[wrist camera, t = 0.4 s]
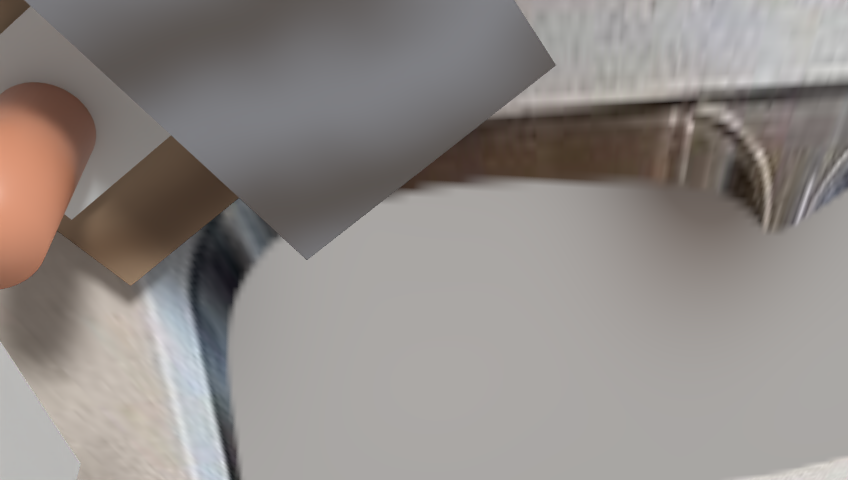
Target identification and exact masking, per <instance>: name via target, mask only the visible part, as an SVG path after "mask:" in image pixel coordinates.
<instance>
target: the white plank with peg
mask: <svg viewBox="0 0 848 480" xmlns="http://www.w3.org/2000/svg"><path fill="white" fill-rule="evenodd" d="M170 136H171V135H170V134H169V133H168V132H167V131H166V130H165V129H164V128H163V127H162V126H161V125H159V124H158V123H157V122H156V121H155V120H154V119H153V118H152V117H151V116H150V115H149V114H148V113H146V112H145V111H144V110H143V109H142V108H141V107H140V106H139V105H138V104H137V103H136V102H134V101H133V100H132V99H131V98H130V97H129V96H128V95H127V94H126V93H125V92H124V91H122V90H121V89H120V88H119V87H118V86H117V85H116V84H115V83H114V82H113V81H112V80H111V79H109V78H108V77H107V76H106V75H105V74H104V73H103V72H102V71H101V70H100V69H99V68H97V67H96V66H95V65H94V64H93V63H92V62H91V61H90V60H89V59H88V58H87V57H86V56H84V55H83V54H82V53H81V52H80V51H79V50H78V49H77V48H76V47H75V46H74V45H72V44H71V43H70V42H69V41H68V40H67V39H66V38H65V37H64V36H63V35H62V34H61V33H59V32H58V31H57V30H56V29H55V28H54V27H53V26H52V25H51V24H50V23H49V22H47V21H46V20H45V19H44V18H43V17H42V16H41V15H40V14H39V13H38V12H37V11H35V10H34V9H33V8H32V7H31V6H30V7H29V8H28V9H27V10H26V11H25V12H24V13H23V14H22V15H21V16H19V17H18V18H17V19H16V20H15V21H14V22H13V23H12V24H11V25H10V26H9V27H8V28H7V29H5V30H4V31H3V32H2V33H1V34H0V289H5V288H8V287H12V286H14V285H17V284H19V283H21V282H23V281H25V280H26V279H28V278H29V277H30V276H32V275H33V274H34V273H35V272H36V271H37V270H38V268H39V267H40V266H41V264H42V262H43V260H44V258H45V256H46V254H47V251H48V249H49V247H50V245H51V243H52V240H53V238H54V236H55V234H56V231H57V229H58V227H59V225H60V222H61V220H62V218H63V216H64V214H65V215H66V216H67V217H69V218H70V219H71V220H72V219H73V218H74V217H76V216H77V215H78V214H79V213H80V212H81V211H83V210H84V209H85V208H86V207H87V206H88V205H90V204H91V203H92V202H93V201H94V200H96V199H97V198H98V197H99V196H100V195H101V194H103V193H104V192H105V191H106V190H107V189H108V188H110V187H111V186H112V185H113V184H114V183H116V182H117V181H118V180H119V179H120V178H121V177H123V176H124V175H125V174H126V173H127V172H128V171H130V170H131V169H132V168H133V167H134V166H136V165H137V164H138V163H139V162H140V161H141V160H143V159H144V158H145V157H146V156H147V155H148V154H150V153H151V152H152V151H153V150H154V149H155V148H157V147H158V146H159V145H160V144H161V143H163V142H164V141H165V140H166V139H167V138H168V137H170Z"/></svg>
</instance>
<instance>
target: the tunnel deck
mask: <svg viewBox="0 0 848 480" xmlns="http://www.w3.org/2000/svg"><path fill="white" fill-rule="evenodd" d="M30 6H31V7H32V8H33V9H34V10H35V11H37V12H38V13H39V14H40V15H41V16H42V17H43V18H44V19H45V20H46V21H47V22H49V23H50V24H51V25H52V26H53V27H54V28H55V29H56V30H57V31H58V32H59V33H61V34H62V35H63V36H64V37H65V38H66V39H67V40H68V41H69V42H70V43H71V44H72V45H74V46H75V47H76V48H77V49H78V50H79V51H80V52H81V53H82V54H83V55H84V56H86V57H87V58H88V59H89V60H90V61H91V62H92V63H93V64H94V65H95V66H96V67H97V68H99V69H100V70H101V71H102V72H103V73H104V74H105V75H106V76H107V77H108V78H109V79H111V80H112V81H113V82H114V83H115V84H116V85H117V86H118V87H119V88H120V89H121V90H122V91H124V92H125V93H126V94H127V95H128V96H129V97H130V98H131V99H132V100H133V101H134V102H136V103H137V104H138V105H139V106H140V107H141V108H142V109H143V110H144V111H145V112H146V113H148V114H149V115H150V116H151V117H152V118H153V119H154V120H155V121H156V122H157V123H158V124H159V125H161V126H162V127H163V128H164V129H165V130H166V131H167V132H168V133H169V134H170V135H171V136H170V137H168V138H167V139H166V140H165V141H164V142H163V143H161V144H160V145H159V146H158V147H157V148H155V149H154V150H153V151H152V152H151V153H150V154H148V155H147V156H146V157H145V158H144V159H143V160H141V161H140V162H139V163H138V164H137V165H136V166H134V167H133V168H132V169H131V170H130V171H128V172H127V173H126V174H125V175H124V176H123V177H121V178H120V179H119V180H118V181H117V182H116V183H114V184H113V185H112V186H111V187H110V188H108V189H107V190H106V191H105V192H104V193H103V194H101V195H100V196H99V197H98V198H97V199H96V200H94V201H93V202H92V203H91V204H90V205H88V206H87V207H86V208H85V209H84V210H83V211H81V212H80V213H79V214H78V215H77V216H76V217H74V218H73V219H72V220H71V219H70V218H69V217H67V216H66V215H65V214H64V216H63V218H62V220H61V222H60V225H59V227H58V229H57V231H58V232H59V233H61V234H62V235H63V236H65V237H66V238H67V239H69V240H70V241H71V242H73V243H74V244H75V245H77V246H78V247H79V248H81V249H82V250H83V251H85V252H86V253H87V254H89V255H90V256H91V257H93V258H94V259H95V260H97V261H98V262H99V263H101V264H102V265H103V266H105V267H106V268H107V269H109V270H110V271H111V272H113V273H114V274H115V275H117V276H118V277H119V278H121V279H122V280H123V281H125V282H126V283H128V284H129V285H130V286H131V285H133V284H134V283H135V282H136V281H138V280H139V279H140V278H141V277H142V276H144V275H145V274H146V273H147V272H149V271H150V270H151V269H152V268H153V267H155V266H156V265H157V264H158V263H160V262H161V261H162V260H163V259H164V258H166V257H167V256H168V255H169V254H171V253H172V252H173V251H174V250H176V249H177V248H178V247H179V246H180V245H182V244H183V243H184V242H185V241H187V240H188V239H189V238H190V237H191V236H193V235H194V234H195V233H196V232H198V231H199V230H200V229H201V228H202V227H204V226H205V225H206V224H207V223H209V222H210V221H211V220H212V219H214V218H215V217H216V216H217V215H218V214H220V213H221V212H222V211H223V210H225V209H226V208H227V207H228V206H229V205H231V204H232V203H233V202H234V201H236V200H237V199H238V198H240V199H241V200H242V201H243V202H244V203H245V204H246V205H248V206H249V207H250V208H251V209H252V210H253V211H254V212H255V213H256V214H257V215H258V216H260V217H261V218H262V219H263V220H264V221H265V222H266V223H267V224H268V225H269V226H270V227H271V228H273V229H274V230H275V231H276V232H277V233H278V234H279V235H280V236H281V237H282V238H283V239H285V240H286V241H287V242H288V243H289V244H290V245H291V246H292V247H293V248H294V249H296V251H298V252H299V253H300V254H301V255H302V256H303V257H304V258H305V259H306V260H308V259H309V258H310V257H311V256H313V255H314V254H315V253H316V252H318V251H319V250H320V249H322V248H323V247H324V246H325V245H327V244H328V243H329V242H331V241H332V240H333V239H334V238H336V237H337V236H338V235H340V234H341V233H342V232H343V231H345V230H346V229H347V228H348V227H350V226H351V225H352V224H353V223H355V222H356V221H357V220H359V219H360V218H361V217H363V216H364V215H365V214H366V213H368V212H369V211H370V210H372V209H373V208H374V207H375V206H376V205H378V204H379V203H380V202H382V201H383V200H384V199H386V198H387V197H388V196H389V195H391V194H392V193H393V192H395V191H396V190H397V189H398V188H400V187H401V186H402V185H403V184H405V183H406V182H407V181H409V180H410V179H411V178H412V177H414V176H415V175H416V174H418V173H419V172H420V171H421V170H423V169H424V168H425V167H427V166H428V165H429V164H430V163H432V162H433V161H434V160H435V159H437V158H438V157H439V156H441V155H442V154H443V153H444V152H446V151H447V150H448V149H450V148H451V147H452V146H453V145H455V144H456V143H457V142H458V141H460V140H461V139H462V138H464V137H465V136H466V135H467V134H469V133H470V132H471V131H473V130H474V129H475V128H476V127H478V126H479V125H480V124H481V123H483V122H484V121H485V120H487V119H488V118H489V117H490V116H492V115H493V114H494V113H496V112H497V111H498V110H499V109H501V108H502V107H503V106H505V105H506V104H507V103H508V102H510V101H511V100H512V99H513V98H515V97H516V96H517V95H519V94H520V93H521V92H522V91H524V90H525V89H526V88H528V87H529V86H530V85H531V84H533V83H534V82H535V81H536V80H538V79H539V78H540V77H542V76H543V75H544V74H545V73H547V72H548V71H549V70H551V69H552V68H553V67H554V66H556V65H555V63H554V61H553V60H552V58H551V57H550V55H549V54H548V52H547V51H546V49H545V47H544V46H543V44H542V43H541V41H540V40H539V38H538V37H537V35H536V33H535V32H534V30H533V29H532V27H531V26H530V24H529V23H528V21H527V19H526V18H525V16H524V15H523V13H522V12H521V10H520V9H519V7H518V5H517V4H516V2H515V1H514V0H0V34H1V33H2V32H3V31H4V30H5V29H7V28H8V27H9V26H10V25H11V24H12V23H13V22H14V21H15V20H16V19H17V18H18V17H19V16H21V15H22V14H23V13H24V12H25V11H26V10H27V9H28V8H29V7H30Z"/></svg>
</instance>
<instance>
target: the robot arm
mask: <svg viewBox="0 0 848 480" xmlns="http://www.w3.org/2000/svg"><path fill="white" fill-rule="evenodd" d="M80 464H81V463H80V462H79V460H78V459H77V457H76V456H75V454H74V453H73V451H72V450H71V448H70V447H69V445H68V444H67V442H66V440H65V439H64V437H63V436H62V434H61V433H60V431H59V430H58V428H57V427H56V425H55V424H54V422H53V421H52V419H51V418H50V416H49V415H48V413H47V412H46V410H45V408H44V407H43V405H42V404H41V402H40V401H39V399H38V398H37V396H36V395H35V393H34V392H33V390H32V389H31V387H30V386H29V384H28V383H27V381H26V380H25V378H24V376H23V375H22V373H21V372H20V370H19V369H18V367H17V366H16V364H15V363H14V361H13V360H12V358H11V357H10V355H9V354H8V352H7V351H6V349H5V348H4V346H3V344H2V343H1V341H0V480H77V476H78V472H79V468H80Z"/></svg>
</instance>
